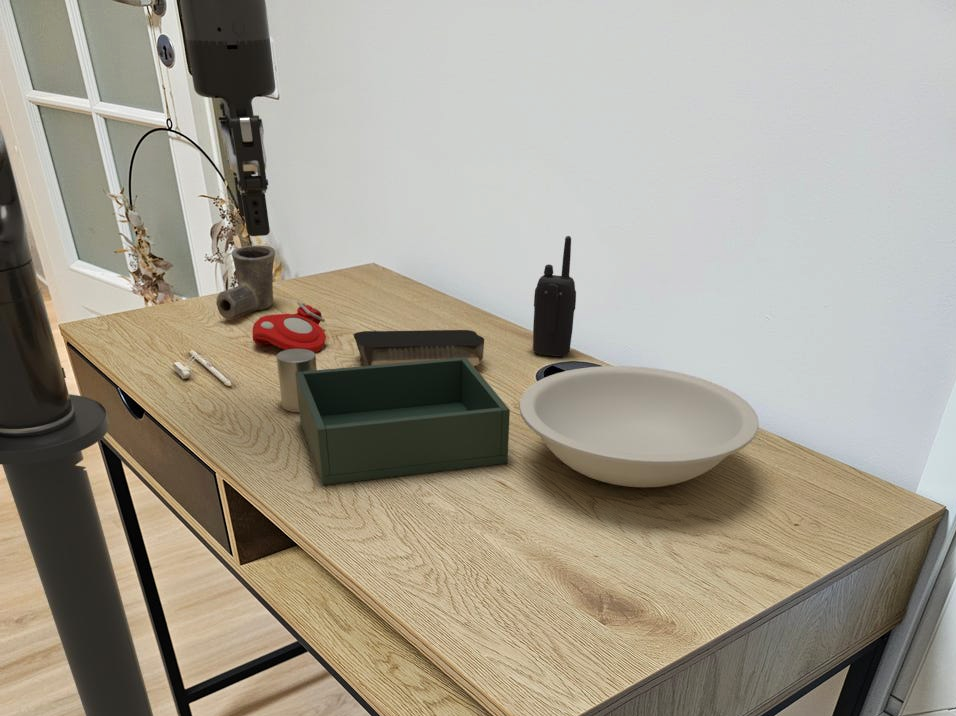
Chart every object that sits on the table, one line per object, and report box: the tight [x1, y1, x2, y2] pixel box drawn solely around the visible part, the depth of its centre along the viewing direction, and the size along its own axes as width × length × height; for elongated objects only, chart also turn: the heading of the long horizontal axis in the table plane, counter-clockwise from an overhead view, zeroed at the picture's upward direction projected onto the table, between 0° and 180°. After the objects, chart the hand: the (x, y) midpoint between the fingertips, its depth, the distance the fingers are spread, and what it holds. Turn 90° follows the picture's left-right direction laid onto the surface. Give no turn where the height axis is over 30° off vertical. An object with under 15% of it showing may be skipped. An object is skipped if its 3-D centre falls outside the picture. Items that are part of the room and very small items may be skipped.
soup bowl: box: [518, 365, 760, 488], centre depth 91 cm, size 24×24×7 cm
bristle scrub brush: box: [353, 329, 485, 367], centre depth 115 cm, size 16×8×4 cm, turn 98°
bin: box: [295, 357, 511, 486], centre depth 95 cm, size 20×16×6 cm
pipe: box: [215, 244, 276, 320], centre depth 130 cm, size 6×13×8 cm, turn 162°
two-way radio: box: [532, 235, 577, 358], centre depth 116 cm, size 6×4×15 cm
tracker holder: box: [252, 300, 327, 354], centre depth 121 cm, size 12×4×10 cm
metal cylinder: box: [275, 349, 318, 413], centre depth 103 cm, size 4×4×6 cm
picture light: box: [172, 349, 232, 387], centre depth 111 cm, size 14×4×2 cm, turn 34°
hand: (254, 225), depth 91 cm, fingers open, 8 cm apart
